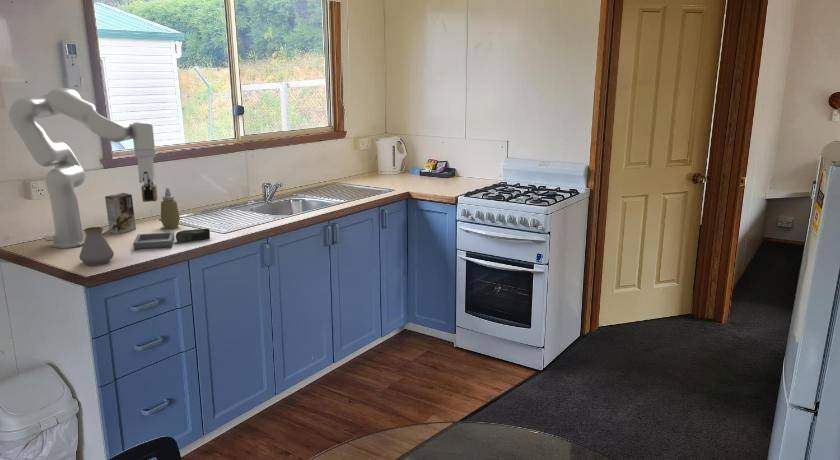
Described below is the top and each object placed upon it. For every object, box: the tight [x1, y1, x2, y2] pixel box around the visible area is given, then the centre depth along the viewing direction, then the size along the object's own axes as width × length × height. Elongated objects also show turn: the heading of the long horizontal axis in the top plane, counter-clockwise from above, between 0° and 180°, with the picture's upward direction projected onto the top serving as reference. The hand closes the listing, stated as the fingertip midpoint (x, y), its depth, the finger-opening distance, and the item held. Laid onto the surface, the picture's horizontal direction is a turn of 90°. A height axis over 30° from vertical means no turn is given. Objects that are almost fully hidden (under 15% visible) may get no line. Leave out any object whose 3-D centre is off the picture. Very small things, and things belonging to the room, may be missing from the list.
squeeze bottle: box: [160, 187, 181, 229], centre depth 279 cm, size 8×8×18 cm
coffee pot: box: [79, 216, 134, 266], centre depth 233 cm, size 21×12×15 cm, turn 145°
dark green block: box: [173, 228, 211, 245], centre depth 259 cm, size 5×3×15 cm
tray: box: [132, 231, 175, 251], centre depth 253 cm, size 14×14×3 cm
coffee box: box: [104, 192, 137, 235], centre depth 272 cm, size 9×6×16 cm
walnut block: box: [140, 183, 158, 203], centre depth 248 cm, size 5×5×6 cm
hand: (149, 197), depth 249 cm, fingers closed on walnut block, 5 cm apart
